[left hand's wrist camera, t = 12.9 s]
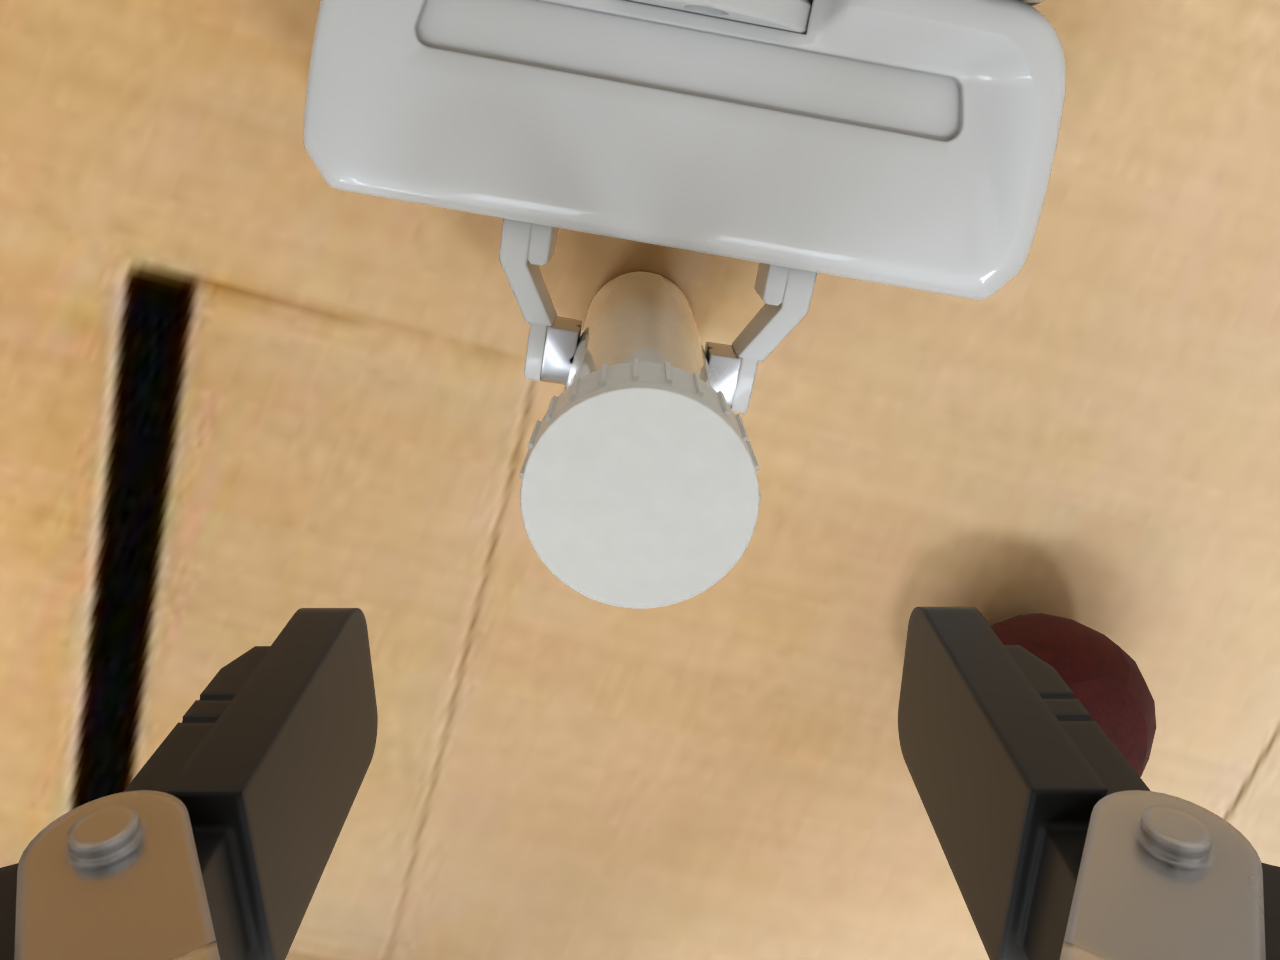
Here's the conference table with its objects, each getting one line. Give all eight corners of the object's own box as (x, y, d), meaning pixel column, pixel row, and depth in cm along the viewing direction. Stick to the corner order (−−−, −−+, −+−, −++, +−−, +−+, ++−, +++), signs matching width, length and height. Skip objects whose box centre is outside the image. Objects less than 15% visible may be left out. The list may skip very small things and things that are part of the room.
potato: (1094, 569, 37) (1193, 662, 30) (1102, 724, 40) (1194, 841, 33) (915, 604, 37) (973, 702, 31) (934, 755, 40) (992, 875, 34)
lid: (496, 396, 19) (478, 426, 17) (716, 327, 18) (725, 350, 16) (571, 590, 20) (563, 639, 18) (775, 532, 20) (790, 575, 18)
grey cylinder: (571, 290, 33) (506, 430, 17) (676, 256, 33) (710, 368, 17) (605, 391, 34) (576, 609, 18) (706, 360, 34) (765, 555, 18)
